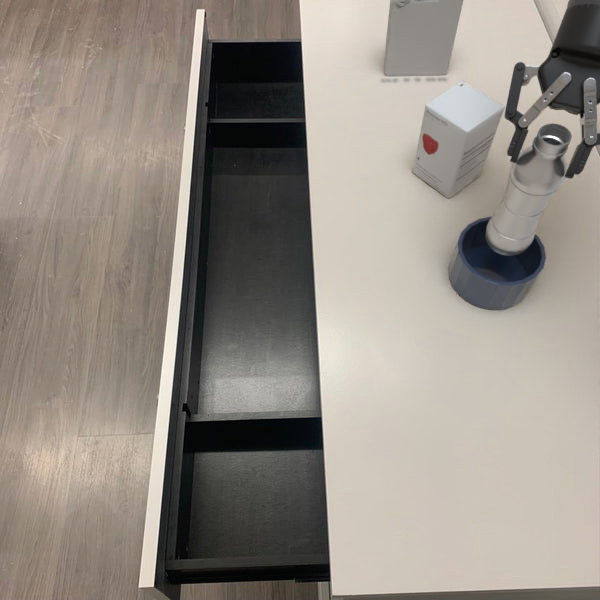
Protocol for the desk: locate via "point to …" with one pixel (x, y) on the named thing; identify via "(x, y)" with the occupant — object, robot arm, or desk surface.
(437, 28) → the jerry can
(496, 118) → the white product box
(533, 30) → the desk surface
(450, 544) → the desk surface
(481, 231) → the bowl
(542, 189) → the silver bottle
